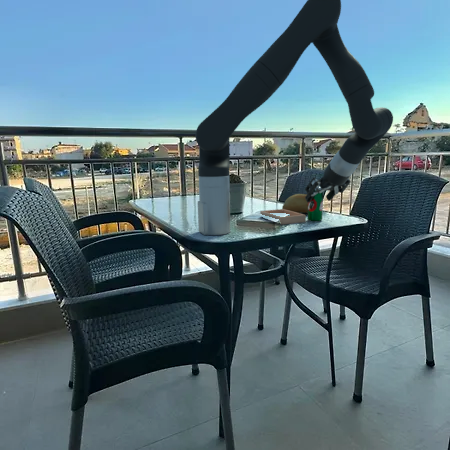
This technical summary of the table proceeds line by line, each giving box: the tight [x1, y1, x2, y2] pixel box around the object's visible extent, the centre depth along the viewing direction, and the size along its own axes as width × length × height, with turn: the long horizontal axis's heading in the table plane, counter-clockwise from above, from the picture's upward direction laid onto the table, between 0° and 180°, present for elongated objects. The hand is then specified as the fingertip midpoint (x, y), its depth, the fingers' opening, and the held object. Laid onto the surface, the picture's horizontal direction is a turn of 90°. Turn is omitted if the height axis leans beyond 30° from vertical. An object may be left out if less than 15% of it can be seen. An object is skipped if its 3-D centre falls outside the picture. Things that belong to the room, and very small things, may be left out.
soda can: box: [306, 185, 324, 223], centre depth 113 cm, size 5×5×12 cm
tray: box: [259, 208, 307, 225], centre depth 117 cm, size 10×15×2 cm, turn 21°
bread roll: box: [281, 193, 308, 214], centre depth 128 cm, size 10×15×8 cm, turn 82°
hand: (317, 199), depth 112 cm, fingers open, 8 cm apart
